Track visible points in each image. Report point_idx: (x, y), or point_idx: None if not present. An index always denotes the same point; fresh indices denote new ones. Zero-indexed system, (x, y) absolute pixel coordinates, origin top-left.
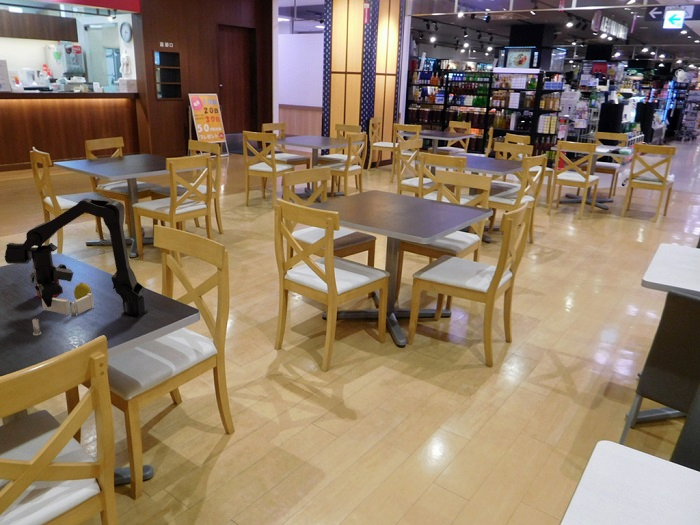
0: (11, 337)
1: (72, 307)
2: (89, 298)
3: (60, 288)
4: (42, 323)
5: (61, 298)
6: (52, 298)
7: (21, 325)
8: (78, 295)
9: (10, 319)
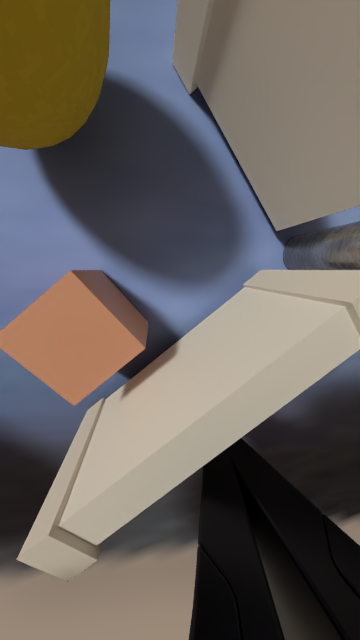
0: (355, 506)
1: None
2: None
3: None
4: (295, 419)
5: (12, 324)
6: (169, 465)
7: None
8: (69, 29)
9: (166, 536)
